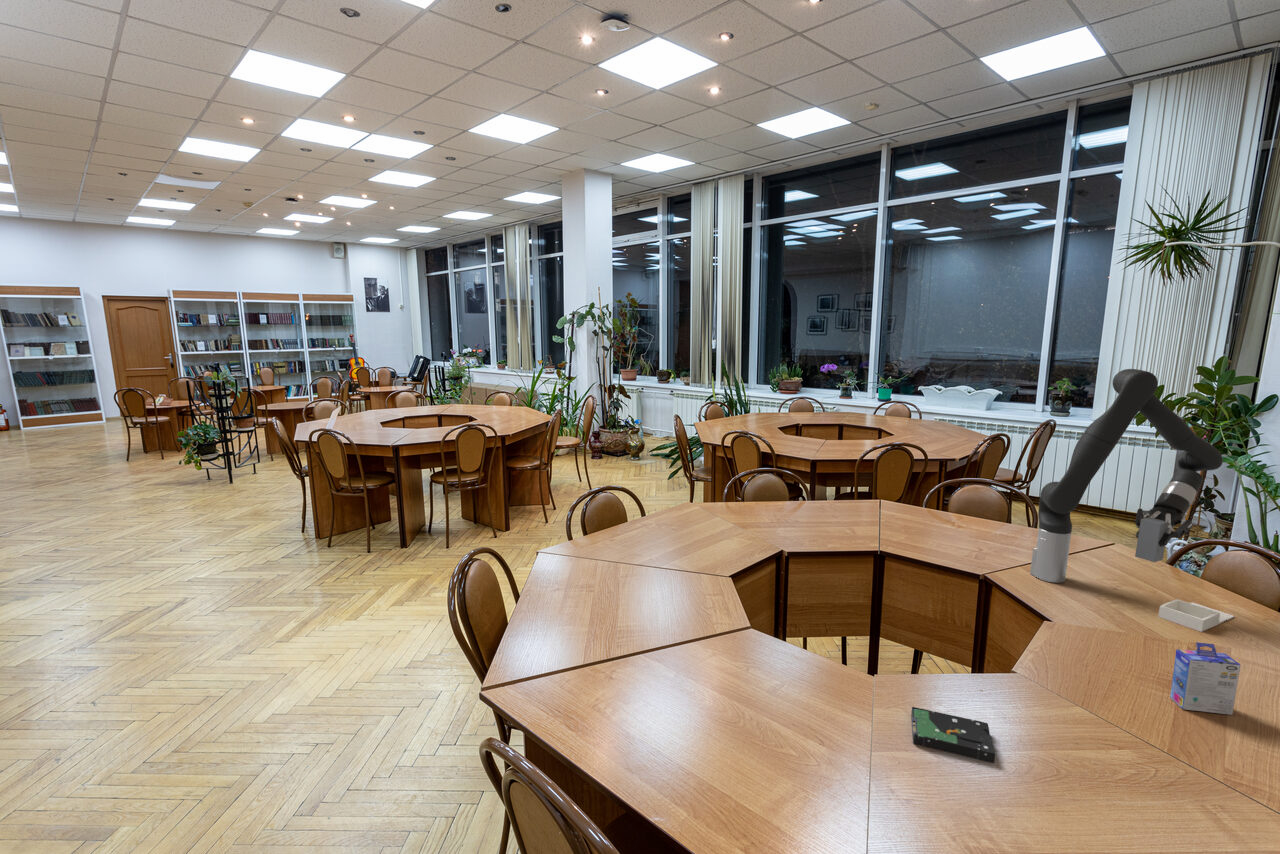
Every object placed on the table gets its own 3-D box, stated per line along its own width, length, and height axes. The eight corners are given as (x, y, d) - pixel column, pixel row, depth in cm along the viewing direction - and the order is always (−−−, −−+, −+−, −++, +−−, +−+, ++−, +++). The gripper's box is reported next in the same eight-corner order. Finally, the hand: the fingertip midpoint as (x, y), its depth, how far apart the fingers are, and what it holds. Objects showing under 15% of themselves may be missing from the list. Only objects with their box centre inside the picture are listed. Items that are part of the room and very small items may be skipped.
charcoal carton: (1135, 556, 188) (1140, 519, 186) (1143, 554, 190) (1149, 517, 188) (1154, 562, 183) (1160, 524, 181) (1162, 559, 186) (1169, 522, 184)
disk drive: (986, 734, 129) (910, 716, 134) (987, 722, 128) (911, 705, 133) (994, 766, 119) (912, 746, 124) (996, 753, 119) (913, 734, 124)
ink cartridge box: (1216, 701, 140) (1226, 643, 137) (1234, 716, 135) (1245, 655, 132) (1167, 695, 142) (1176, 638, 139) (1182, 710, 136) (1193, 650, 134)
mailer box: (1158, 616, 181) (1160, 605, 181) (1191, 603, 190) (1193, 592, 190) (1201, 631, 172) (1203, 620, 172) (1234, 617, 181) (1236, 606, 181)
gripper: (1145, 486, 193) (1119, 528, 190) (1202, 498, 181) (1175, 542, 177) (1151, 500, 196) (1125, 541, 193) (1207, 513, 184) (1181, 557, 180)
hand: (1149, 542), depth 185 cm, fingers closed on charcoal carton, 5 cm apart
